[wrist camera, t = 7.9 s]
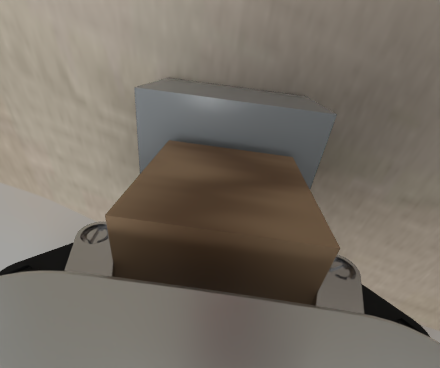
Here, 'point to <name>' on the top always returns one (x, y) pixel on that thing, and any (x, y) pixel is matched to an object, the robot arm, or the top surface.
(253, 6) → the top surface
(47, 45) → the top surface
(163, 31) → the top surface
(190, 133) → the slate stand
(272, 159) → the walnut block
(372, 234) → the top surface
